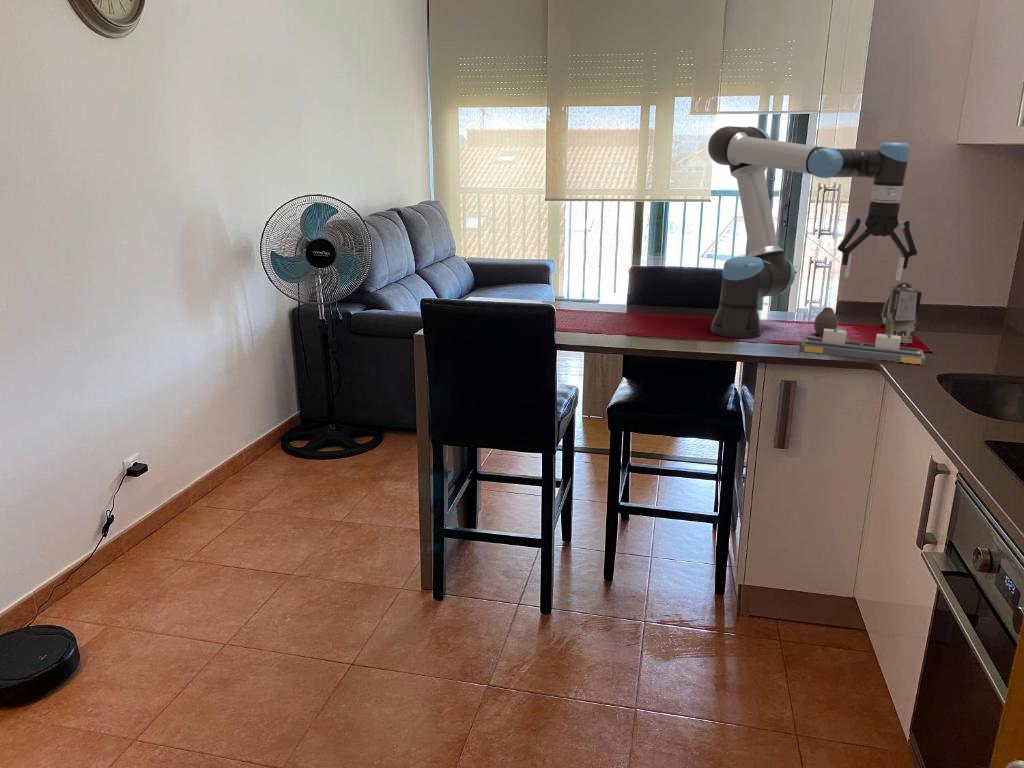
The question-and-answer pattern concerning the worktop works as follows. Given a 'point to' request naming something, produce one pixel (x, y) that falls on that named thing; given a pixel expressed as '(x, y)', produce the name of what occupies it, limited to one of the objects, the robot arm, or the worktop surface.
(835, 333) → the slider
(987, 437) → the worktop surface
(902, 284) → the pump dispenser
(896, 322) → the coffee box
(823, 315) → the vase
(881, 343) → the slider
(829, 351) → the grey slider track
